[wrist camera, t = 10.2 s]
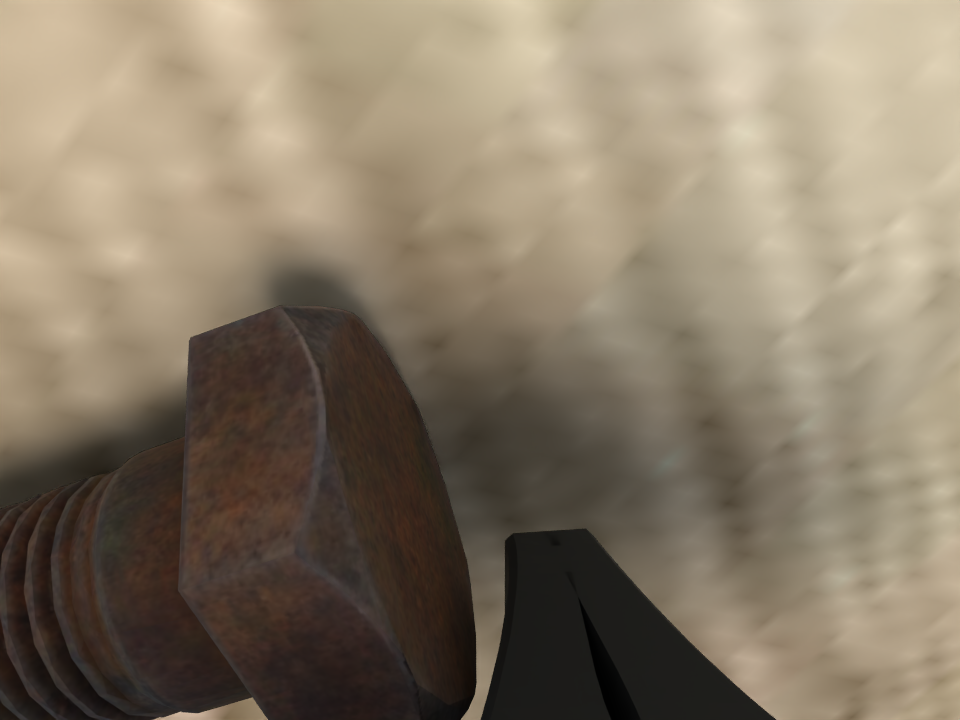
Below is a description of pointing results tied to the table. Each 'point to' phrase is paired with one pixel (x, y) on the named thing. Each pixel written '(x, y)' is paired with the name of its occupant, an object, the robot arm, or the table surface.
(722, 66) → the table surface
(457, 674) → the bolt
